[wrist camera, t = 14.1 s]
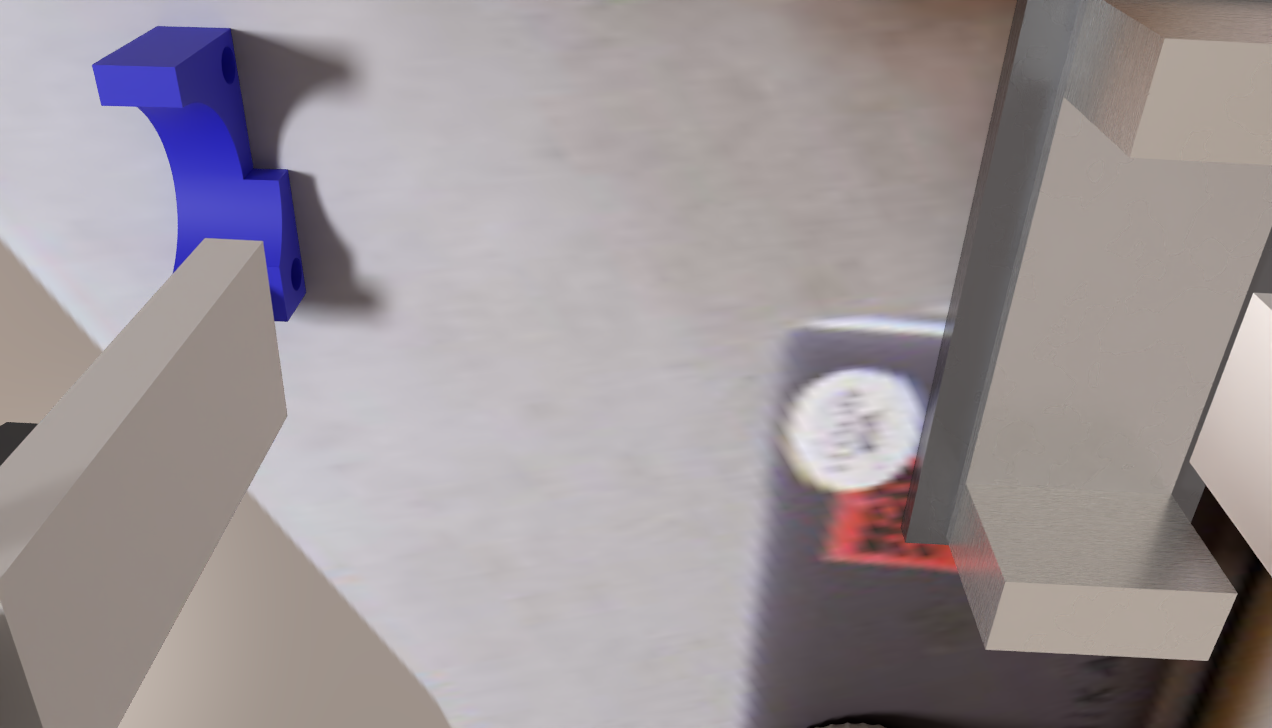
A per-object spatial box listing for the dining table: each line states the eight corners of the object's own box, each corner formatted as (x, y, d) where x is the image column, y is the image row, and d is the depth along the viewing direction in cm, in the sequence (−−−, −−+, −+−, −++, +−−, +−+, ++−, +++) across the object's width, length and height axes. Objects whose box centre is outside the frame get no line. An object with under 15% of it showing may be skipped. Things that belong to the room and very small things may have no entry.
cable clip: (307, 290, 50) (266, 355, 45) (210, 288, 50) (159, 352, 45) (268, 28, 44) (215, 68, 39) (158, 25, 44) (92, 64, 39)
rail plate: (1025, -35, 42) (1106, 19, 34) (1382, -16, 42) (1544, 42, 34) (900, 527, 56) (938, 655, 49) (1167, 541, 56) (1248, 670, 49)
